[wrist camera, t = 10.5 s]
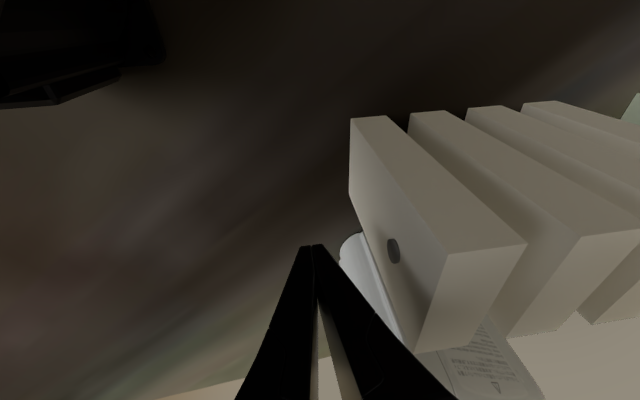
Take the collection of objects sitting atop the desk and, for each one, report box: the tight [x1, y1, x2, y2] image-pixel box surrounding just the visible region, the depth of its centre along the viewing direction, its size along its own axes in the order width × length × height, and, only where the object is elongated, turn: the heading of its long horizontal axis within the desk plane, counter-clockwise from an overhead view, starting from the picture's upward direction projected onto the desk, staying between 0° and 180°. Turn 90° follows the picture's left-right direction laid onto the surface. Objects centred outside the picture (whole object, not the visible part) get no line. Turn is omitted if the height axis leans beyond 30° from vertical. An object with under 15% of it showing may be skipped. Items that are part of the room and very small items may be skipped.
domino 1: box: [349, 115, 528, 354], centre depth 12 cm, size 5×2×10 cm, turn 2°
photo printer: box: [339, 231, 545, 400], centre depth 16 cm, size 10×4×12 cm, turn 62°
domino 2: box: [407, 110, 640, 339], centre depth 12 cm, size 5×2×10 cm, turn 2°
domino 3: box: [520, 100, 640, 160], centre depth 12 cm, size 5×2×10 cm, turn 2°
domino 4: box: [465, 105, 640, 325], centre depth 12 cm, size 5×2×10 cm, turn 2°
